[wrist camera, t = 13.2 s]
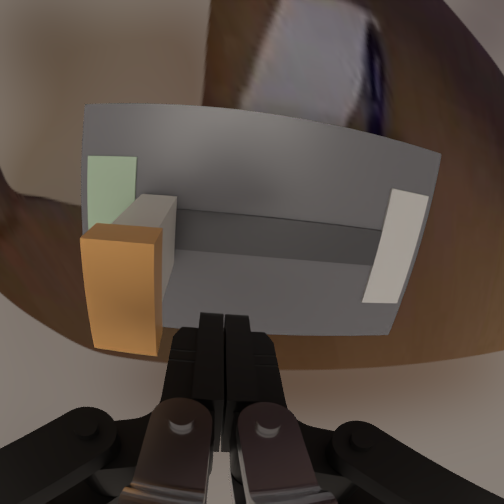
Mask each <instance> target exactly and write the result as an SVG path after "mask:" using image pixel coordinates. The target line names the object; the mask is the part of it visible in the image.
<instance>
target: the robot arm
mask: <svg viewBox="0 0 504 504" xmlns="http://www.w3.org/2000/svg"><path fill="white" fill-rule="evenodd" d="M220 435H221V452H230V470H229V481H230V488H231V495H232V502H233V504H504V499H503V498H501V497H499V496H497V495H495V494H493V493H491V492H489V491H487V490H485V489H483V488H481V487H479V486H477V485H475V484H474V483H472V482H470V481H468V480H466V479H464V478H462V477H460V476H459V475H456V474H455V473H453V472H451V471H449V470H447V469H446V468H444V467H442V466H440V465H439V464H437V463H435V462H433V461H432V460H430V459H428V458H426V457H425V456H423V455H421V454H420V453H418V452H416V451H414V450H413V449H411V448H410V447H408V446H406V445H405V444H403V443H401V442H400V441H398V440H396V439H395V438H393V437H392V436H390V435H388V434H387V433H385V432H384V431H382V430H380V429H379V428H377V427H376V426H374V425H372V424H370V423H367V422H363V421H349V422H346V423H344V424H342V425H340V426H339V427H338V428H337V429H336V430H335V431H331V430H326V429H320V428H316V427H312V426H308V425H306V424H303V423H302V422H300V421H298V420H297V419H296V417H295V416H294V414H293V413H292V412H291V411H290V410H288V408H287V405H286V401H285V397H284V392H283V387H282V382H281V378H280V372H279V368H278V363H277V358H276V353H275V348H274V343H273V342H272V341H271V339H270V338H269V337H268V336H267V335H266V333H265V332H251V329H250V321H249V316H248V315H233V314H225V320H224V314H218V313H206V312H200V320H199V328H194V327H183V326H182V327H181V328H180V330H179V331H178V332H177V333H176V334H175V335H174V336H173V340H172V345H171V350H170V355H169V361H168V365H167V370H166V376H165V381H164V387H163V392H162V397H161V401H160V403H159V404H158V405H157V406H156V407H155V408H154V410H153V411H152V412H151V413H149V414H147V415H145V416H143V417H140V418H136V419H129V420H119V421H114V420H113V419H112V418H111V416H110V415H108V414H107V413H106V412H104V411H103V410H100V409H98V408H94V407H80V408H76V409H74V410H71V411H69V412H67V413H66V414H64V415H62V416H61V417H59V418H57V419H55V420H53V421H51V422H49V423H48V424H46V425H44V426H42V427H40V428H38V429H37V430H35V431H33V432H31V433H29V434H27V435H25V436H24V437H22V438H20V439H18V440H16V441H14V442H12V443H10V444H8V445H6V446H4V447H3V448H1V449H0V504H206V502H207V492H208V482H209V475H210V474H211V471H212V462H213V452H219V445H220Z"/></svg>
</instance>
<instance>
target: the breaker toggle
mask: <svg viewBox="0 0 504 504" xmlns="http://www.w3.org/2000/svg"><path fill="white" fill-rule="evenodd" d="M176 208H177V196H166V195H152V194H141V195H140V196H139V197H138V198H137V199H136V200H135V201H134V202H133V203H132V204H131V205H130V206H129V207H128V208H127V209H126V210H125V211H123V212H122V213H121V214H120V215H119V216H118V217H117V218H116V219H115V220H114V221H113V222H112V223H111V224H105V223H96V224H95V225H94V226H92V227H91V228H90V229H89V230H88V231H87V232H86V233H85V234H84V235H83V236H82V237H81V238H80V246H81V258H82V268H83V277H84V286H85V294H86V301H87V308H88V314H89V320H90V326H91V332H92V337H93V342H94V348H100V349H107V350H113V351H120V352H127V353H135V354H142V355H151V356H157V354H158V349H159V345H160V341H161V336H162V332H163V329H162V301H163V297H164V294H165V291H166V287H167V284H168V281H169V278H170V274H171V271H172V268H173V265H174V248H175V226H176Z"/></svg>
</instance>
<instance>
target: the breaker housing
mask: <svg viewBox="0 0 504 504" xmlns="http://www.w3.org/2000/svg"><path fill="white" fill-rule="evenodd" d="M441 155H442V154H440V153H437V152H434V151H431V150H427V149H424V148H421V147H418V146H415V145H411V144H408V143H404V142H401V141H397V140H394V139H390V138H386V137H383V136H379V135H375V134H371V133H367V132H363V131H359V130H354V129H350V128H346V127H341V126H336V125H332V124H327V123H322V122H317V121H311V120H306V119H300V118H294V117H288V116H282V115H276V114H269V113H262V112H254V111H246V110H238V109H228V108H218V107H206V106H192V105H175V104H174V105H173V104H146V103H145V104H144V103H110V104H85V110H84V123H83V138H82V166H81V203H82V229H83V235H84V234H85V233H86V232H87V231H88V230H89V229H90V228H91V227H92V226H94V225H95V224H96V223H105V224H111V223H112V222H113V221H114V220H115V219H116V218H117V217H118V216H119V215H120V214H121V213H122V212H123V211H125V210H126V209H127V208H128V207H129V206H130V205H131V204H132V203H133V202H134V201H135V200H136V199H137V198H138V197H139V196H140V195H141V194H152V195H166V196H177V208H176V226H175V248H174V265H173V268H172V271H171V274H170V278H169V281H168V284H167V287H166V291H165V294H164V297H163V301H162V327H170V328H181V327H182V326H183V327H194V328H199V320H200V312H206V313H218V314H224V320H225V314H233V315H248V316H249V321H250V329H251V332H265V333H266V334H275V335H315V336H357V335H388V334H389V332H390V330H391V327H392V325H393V322H394V319H395V317H396V314H397V312H398V309H399V306H400V304H401V301H402V298H403V295H404V293H405V290H406V287H407V284H408V281H409V278H410V275H411V272H412V269H413V266H414V263H415V260H416V257H417V253H418V250H419V247H420V243H421V240H422V236H423V233H424V229H425V225H426V222H427V218H428V214H429V210H430V206H431V202H432V198H433V193H434V189H435V185H436V180H437V175H438V170H439V165H440V160H441Z"/></svg>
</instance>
